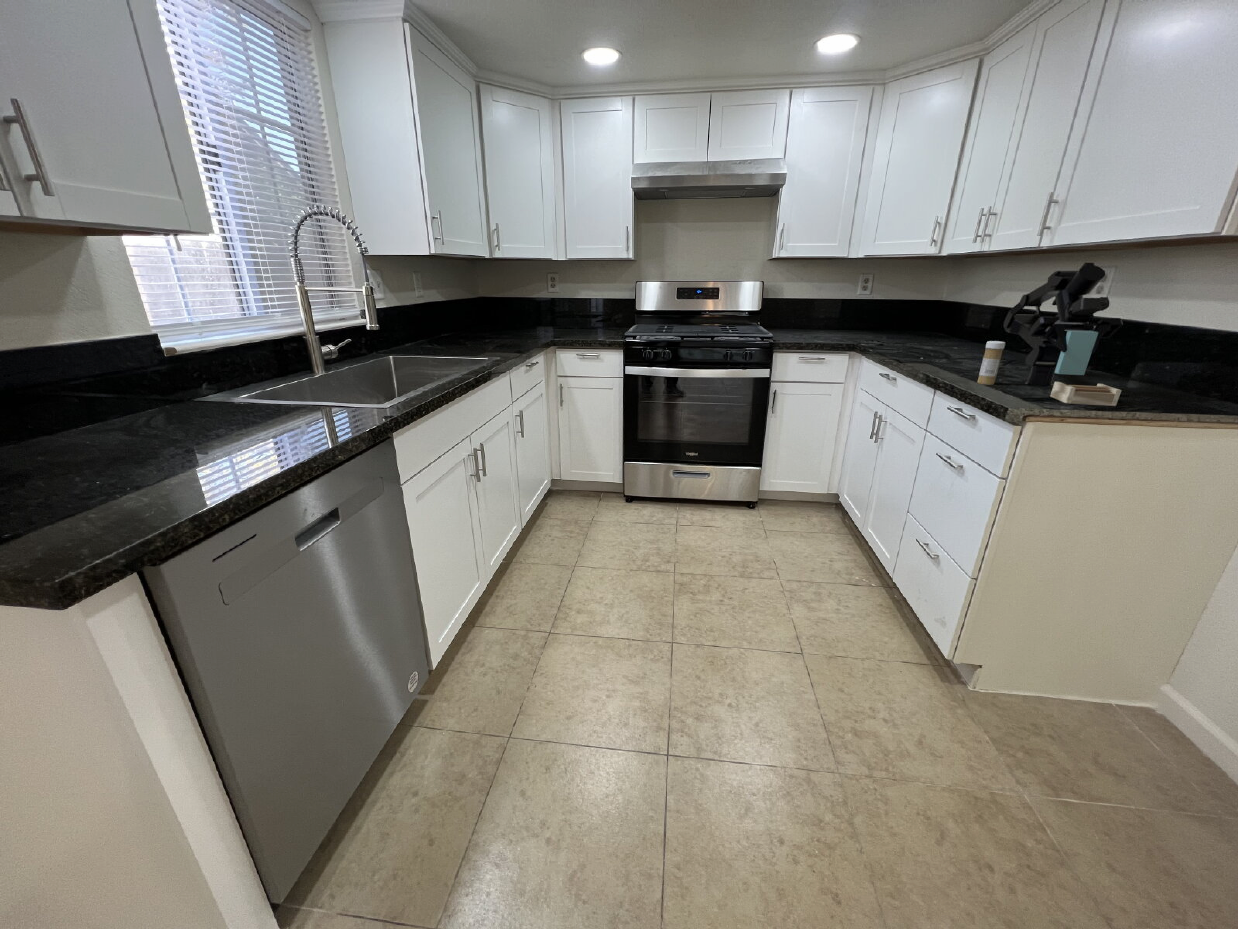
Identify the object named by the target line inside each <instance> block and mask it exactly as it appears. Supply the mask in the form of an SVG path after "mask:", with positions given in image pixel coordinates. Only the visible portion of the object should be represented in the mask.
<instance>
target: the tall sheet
mask: <svg viewBox="0 0 1238 929" xmlns="http://www.w3.org/2000/svg"><path fill="white" fill-rule="evenodd" d="M1097 335H1098V332H1093V331H1066V334H1065V338H1066V343H1067V351H1066V352H1062V351H1061V353H1060V357H1059V360H1058V363H1057V366H1056V369H1055V372H1054V373H1055V374H1056V375H1072V376H1074V375H1075V376H1085V373H1086V370H1087V367H1088V364H1089V361H1090V358H1091V355H1092V354H1093V353H1092V350H1093V347H1094V344H1095V341H1096V338H1097Z"/></svg>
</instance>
